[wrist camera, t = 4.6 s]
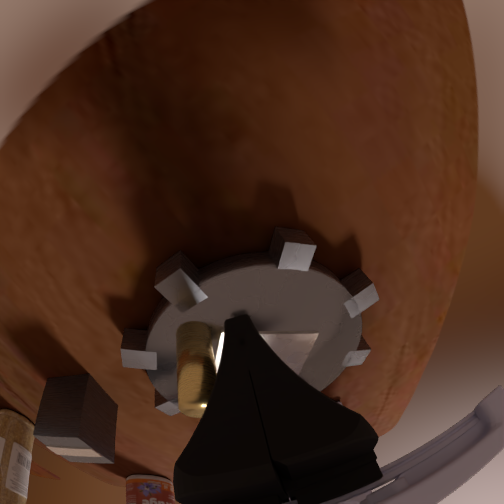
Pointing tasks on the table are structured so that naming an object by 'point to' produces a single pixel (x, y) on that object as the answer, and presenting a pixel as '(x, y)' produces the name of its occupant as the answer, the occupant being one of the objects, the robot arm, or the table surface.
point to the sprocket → (261, 313)
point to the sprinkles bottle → (14, 456)
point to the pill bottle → (149, 490)
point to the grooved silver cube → (77, 419)
